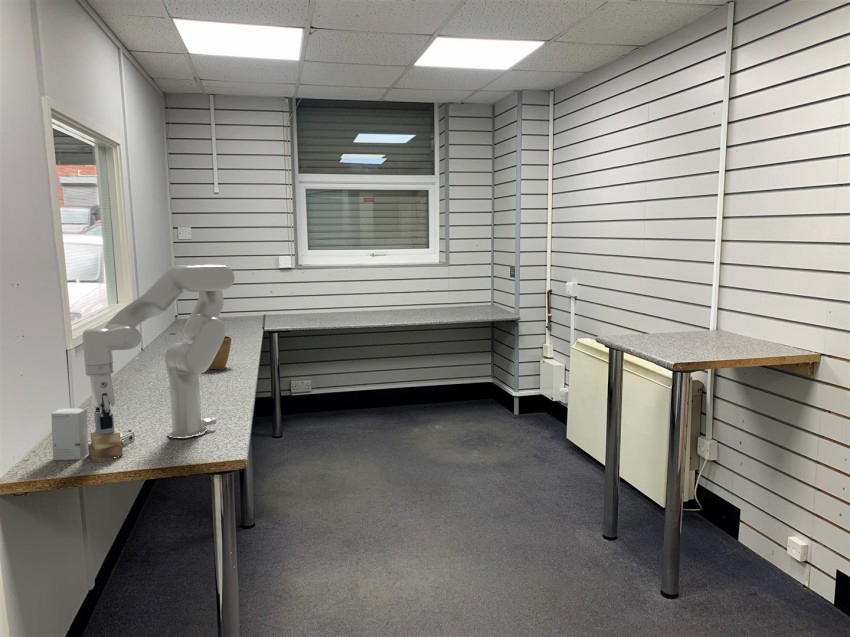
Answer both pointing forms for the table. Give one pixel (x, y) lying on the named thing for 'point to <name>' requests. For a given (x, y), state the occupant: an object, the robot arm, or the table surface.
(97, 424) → the blue block
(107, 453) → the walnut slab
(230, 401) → the table surface
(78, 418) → the skincare box
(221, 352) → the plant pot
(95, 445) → the oak slab
